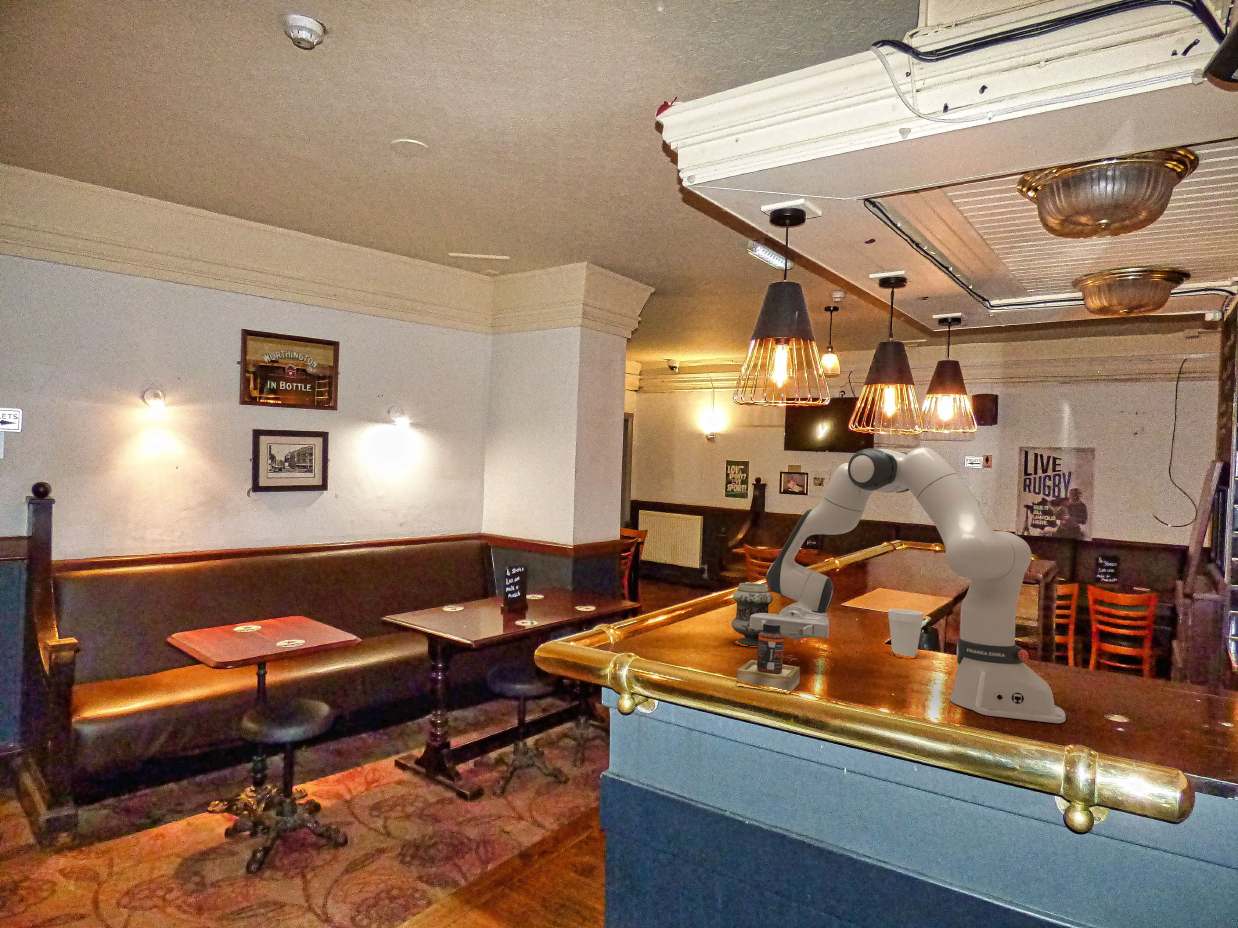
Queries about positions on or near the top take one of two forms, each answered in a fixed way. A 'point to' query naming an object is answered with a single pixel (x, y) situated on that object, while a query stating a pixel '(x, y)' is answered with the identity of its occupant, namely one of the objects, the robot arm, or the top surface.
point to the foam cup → (905, 630)
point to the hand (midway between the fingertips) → (783, 629)
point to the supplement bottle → (770, 649)
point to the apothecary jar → (750, 609)
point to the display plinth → (770, 676)
